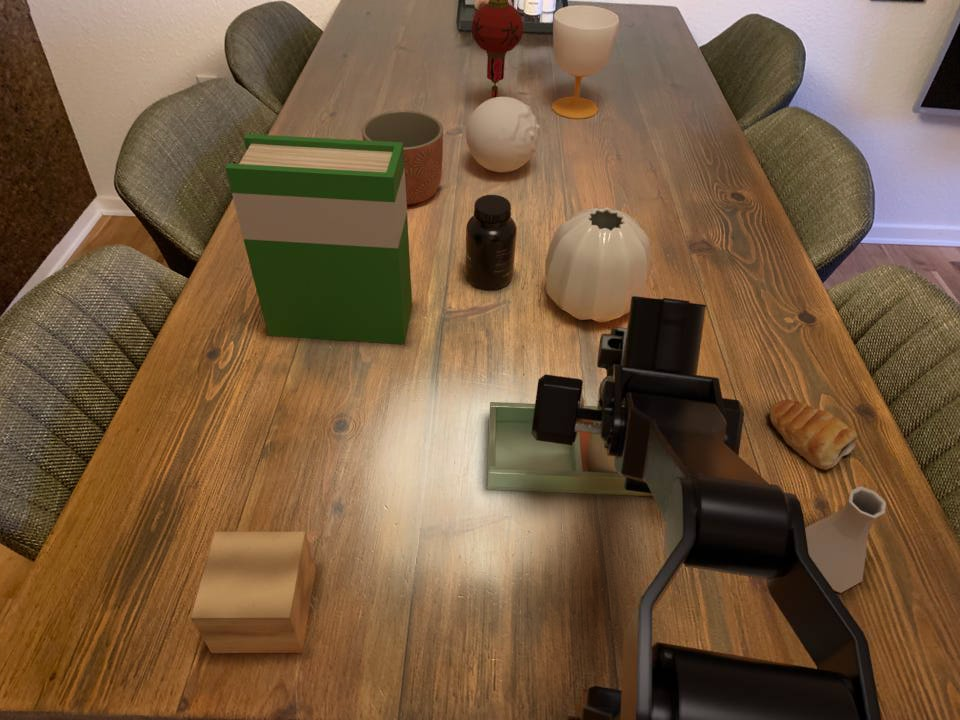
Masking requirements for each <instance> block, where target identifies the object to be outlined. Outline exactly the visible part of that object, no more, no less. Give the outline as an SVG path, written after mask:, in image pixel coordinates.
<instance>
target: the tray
mask: <svg viewBox="0 0 960 720" xmlns="http://www.w3.org/2000/svg"><path fill="white" fill-rule="evenodd" d="M584 408H591V409H596V405H584ZM534 409H535V403H529V402H527V403H526V402H502V401H501V402H499V401H489V418H488V448H487V449H488V451H487V452H488V453H487V488H486V489H487V490H491V491H516V492H517V491H518V492H538V493H539V492H540V493H541V492H542V493H565V494H567V493H568V494H589V495H590V494H593V495H614V496H615V495H618V496H641V497H642V496H643V497H653V495H652V494H649V493H642V492H635V491H628V490H625V489H624V481H625V477H623V476H621V475H620V474H619V473H608V472H591V471H590V470H589V468H588V466H587V463H586V452H587V447H588V443H589V438H590V433H586V432H579V431H578V434H577V437H576V440H575V442H573V444H572V445H566V444H558V443H551V442H544V441H537V440H536V439H535V438H534V436H533V435H532V434H531V432H532V424H533V417H534ZM583 421H585V424H587V422H589V424H590V425H591V423H592V422H593V420H587V419H582V421H581V424H582V423H583Z"/></svg>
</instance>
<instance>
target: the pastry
mask: <svg viewBox="0 0 960 720" xmlns="http://www.w3.org/2000/svg"><path fill="white" fill-rule="evenodd" d="M769 419H770V422H771V424H772V426H773V428H775V429H776V432H777V433H778V434H780V436H781V437H782V439H783V441H784V442H785V444H786V445H787V446H789V447H790V448H791V449H792V450H793V451H794V452H796V453H797V454H798V455H799V456H801V457H803V458H804V459H805V460H806V461H807V462H808V463H809V464H810V465H812V466H813V467H814V468H815V467H816V468H818V469H821V470H823V471H828V470H829V469H832V468H834V467H835V466H836V465H837V464H838V463H839V462H840V461H841V459H842V457H844V456H847V455H849V454H851V453H852V451H853V450H854V449H855V447H856V444H857V441H858V433H857V431H856V430H855V429H852V428H850V427H849V426H848V425H847V424H846V423H845V422H844V421H842V420H841V419H840V418H838V417H836V416H835V415H834V414H833V413H832V412H830V411H828V410H822V409H821V408H816V407H813V406H811V405H809V404H807V403H805V402H801V401H797V400H792V399H783V400H779V401H778V402H776V403H773V404H772V405H770V407H769Z"/></svg>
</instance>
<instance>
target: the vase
mask: <svg viewBox="0 0 960 720" xmlns="http://www.w3.org/2000/svg"><path fill="white" fill-rule="evenodd" d="M651 245H652V244H651V241H650V239H649V236H648V234H647V233H646V232H645V231H644V230H643V229H642V228H641V225H640V223H639V222H638V221H637V220H636V219H635V218H633V217H632V216H630V215H628V214H627V213H625V212H624V211H621V210H618V209H614V208H612V207H607V206H602V207H592V208H586V209H583V210H580V211H577V212H575V213H572V214H571V215H570V216H569V218H568V219H567V220H566V221H565V222H563V223H561V224H560V225H559V227H558V228H557V229H556V230H555V232H554V234H553V236H552V238H551V240H550V243H549V247H548V249H547V253H546V256H545V264H544V274H545V275H544V276H545V278H546V282H545V291H546V294H547V295H548V296H549V298H550V299H551V300H552V302H554V303H555V304H556V306H558V307H559V308H560V309H561V310H562V311H565V312H566V313H568V314H569V315H571V316H572V317H574V318H575V319H577V320H579V321H582V320H583V321H585V320H593V321H595V322H598V323H606V322H609V321H612V320H615V319H619V318H621V317H623V316H624V315H626V314H629V312H630V304H631V297H632V296H637V297H645V295H646V290H647V284H648V282H649V279H650V274H651V267H652V246H651Z"/></svg>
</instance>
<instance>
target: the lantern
mask: <svg viewBox="0 0 960 720" xmlns="http://www.w3.org/2000/svg"><path fill="white" fill-rule="evenodd" d="M470 31H471V35H472V38H473V40H474V42H475V43H476V44H477V46H478V48H480V49H481V50H483V51H485V53H486V55H487V59H486V60H487V63H486V64H487V65H486V78H487V79H488V80H489V81H491V83H493V85H492V87H491V93H490V96H491V98H490V99H492V98H495V97H499V95H498V94H499V87H498V86H497V83H499V82H500V81H502V80H503V79H504V78H505V62H506V61H505V60H506V54H507V52H510V51H512V50H513V49H515V48H516V47H517V45H518V44H519V43H520V42H521V41H522V37H523V34H524V22H523V17H522V15H521V14H520V12H519V11H518V9H517V8H516V7H515V6H513V5H511V4H510V2H509V0H488V1H487V3H486V4H484V5H482V6H480V7H479V8H478V9H477V11H476V12H475V13H474V15H473V18H472V23H471V27H470Z"/></svg>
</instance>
